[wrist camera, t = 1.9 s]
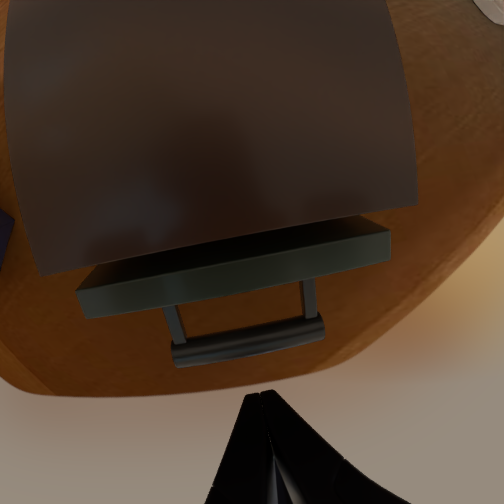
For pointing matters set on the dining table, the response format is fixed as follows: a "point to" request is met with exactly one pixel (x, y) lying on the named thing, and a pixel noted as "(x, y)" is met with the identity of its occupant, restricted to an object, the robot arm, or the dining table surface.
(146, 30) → the cabinet
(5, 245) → the block
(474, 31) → the dining table surface
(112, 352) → the dining table surface
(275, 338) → the drawer
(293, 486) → the robot arm
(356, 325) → the dining table surface
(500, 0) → the white cup
